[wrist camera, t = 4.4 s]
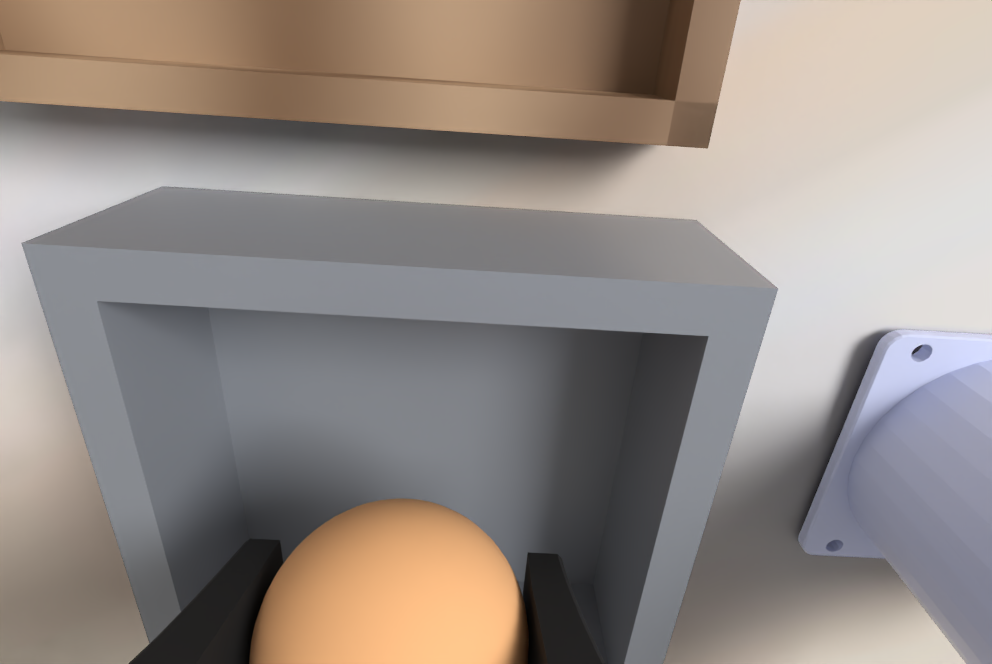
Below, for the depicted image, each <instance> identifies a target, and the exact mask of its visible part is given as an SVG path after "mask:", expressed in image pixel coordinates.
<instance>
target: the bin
mask: <svg viewBox="0 0 992 664" xmlns="http://www.w3.org/2000/svg"><path fill="white" fill-rule="evenodd" d="M22 246H23V249H24V252H25V256H26V259H27V262H28V265H29V268H30V271H31V274H32V277H33V281H34V284H35V287H36V290H37V293H38V296H39V299H40V302H41V306H42V309H43V312H44V315H45V318H46V321H47V324H48V327H49V331H50V334H51V337H52V340H53V343H54V346H55V349H56V352H57V356H58V359H59V362H60V365H61V368H62V371H63V374H64V377H65V381H66V384H67V387H68V390H69V393H70V396H71V399H72V402H73V406H74V409H75V412H76V415H77V418H78V421H79V424H80V427H81V431H82V434H83V437H84V440H85V443H86V446H87V449H88V452H89V456H90V459H91V462H92V465H93V468H94V471H95V474H96V477H97V481H98V484H99V487H100V490H101V493H102V496H103V499H104V503H105V506H106V509H107V512H108V515H109V518H110V521H111V524H112V528H113V531H114V534H115V537H116V540H117V543H118V546H119V549H120V553H121V556H122V559H123V562H124V565H125V568H126V571H127V574H128V578H129V581H130V584H131V587H132V590H133V593H134V596H135V599H136V603H137V606H138V609H139V612H140V615H141V618H142V621H143V624H144V628H145V631H146V634H147V637H148V640H149V643H151V642H152V641H153V640H154V639H155V638H156V637H157V636H158V635H159V634H160V633H161V632H162V631H163V630H164V629H165V628H166V627H167V626H168V625H169V624H170V623H171V622H172V621H173V620H174V619H175V617H176V616H177V615H178V614H179V613H180V612H181V611H182V610H183V609H184V608H185V607H186V606H187V605H188V604H189V603H190V602H191V601H192V600H193V599H194V598H195V597H196V596H197V595H198V594H199V592H200V591H201V590H202V589H203V588H204V587H205V586H206V585H207V584H208V583H209V582H210V581H211V580H212V578H213V577H214V576H215V575H216V574H217V573H218V572H219V571H220V570H221V569H222V567H223V566H224V565H225V564H226V563H227V562H228V561H229V560H230V559H231V557H232V556H233V555H234V554H235V553H236V552H237V551H238V550H239V549H240V547H241V546H242V545H243V544H244V543H245V542H246V541H247V540H249V539H269V540H280V544H281V550H282V557H283V563H284V562H285V561H286V559H287V558H288V557H289V556H290V554H291V553H292V552H293V551H294V550H295V548H296V547H297V546H298V545H299V544H300V543H301V542H302V541H303V540H304V539H305V538H306V537H307V536H309V535H310V534H311V533H312V532H313V531H314V530H316V529H317V528H318V527H320V526H321V525H323V524H324V523H325V522H327V521H329V520H330V519H332V518H333V517H335V516H337V515H339V514H341V513H343V512H345V511H347V510H350V509H352V508H354V507H356V506H359V505H362V504H366V503H369V502H374V501H379V500H386V499H397V498H402V499H418V500H424V501H429V502H433V503H436V504H439V505H442V506H444V507H447V508H449V509H451V510H454V511H456V512H458V513H459V514H461V515H463V516H465V517H466V518H468V519H469V520H471V521H472V522H473V523H475V524H476V525H477V526H478V527H480V528H481V529H482V530H483V531H484V532H485V533H486V534H487V535H488V536H489V537H490V538H491V539H492V540H493V541H494V542H495V544H496V545H497V546H498V548H499V549H500V550H501V552H502V553H503V555H504V556H505V557H506V559H507V561H508V563H509V564H510V566H511V568H512V570H513V572H514V574H515V577H516V579H517V581H518V584H519V587H520V589H521V593H522V595H523V587H524V579H525V571H526V563H527V554H528V552H529V553H549V554H558V555H559V556H560V557H561V558H562V560H563V564H564V567H565V570H566V573H567V576H568V579H569V582H570V585H571V587H572V590H573V592H574V595H575V598H576V600H577V602H578V605H579V607H580V610H581V612H582V614H583V617H584V619H585V621H586V624H587V626H588V628H589V630H590V633H591V635H592V637H593V639H594V641H595V643H596V645H597V647H598V649H599V651H600V653H601V656H602V658H603V660H604V662H605V664H663V663H664V659H665V656H666V653H667V649H668V646H669V643H670V640H671V636H672V633H673V630H674V627H675V623H676V620H677V617H678V614H679V610H680V607H681V604H682V601H683V597H684V594H685V591H686V587H687V584H688V581H689V578H690V574H691V571H692V568H693V565H694V561H695V558H696V555H697V552H698V548H699V545H700V542H701V539H702V535H703V532H704V529H705V526H706V522H707V519H708V516H709V512H710V509H711V506H712V503H713V499H714V496H715V493H716V490H717V486H718V483H719V480H720V477H721V473H722V470H723V467H724V464H725V460H726V457H727V454H728V451H729V447H730V444H731V441H732V437H733V434H734V431H735V428H736V424H737V421H738V418H739V415H740V411H741V408H742V405H743V402H744V398H745V395H746V392H747V389H748V385H749V382H750V379H751V375H752V372H753V369H754V366H755V362H756V359H757V356H758V353H759V349H760V346H761V343H762V340H763V336H764V333H765V330H766V327H767V323H768V320H769V317H770V314H771V310H772V307H773V304H774V300H775V297H776V294H777V291H778V288H777V287H776V286H774V285H773V284H772V283H771V282H770V281H768V280H767V279H766V278H765V277H764V276H762V275H761V274H760V273H759V272H758V271H756V270H755V269H754V268H753V267H752V266H751V265H749V264H748V263H747V262H746V261H745V260H743V259H742V258H741V257H740V256H739V255H737V254H736V253H735V252H734V251H733V250H731V249H730V248H729V247H728V246H727V245H725V244H724V243H723V242H722V241H721V240H720V239H718V238H717V237H716V236H715V235H714V234H712V233H711V232H710V231H709V230H708V229H706V228H705V227H704V226H703V225H702V224H700V223H699V222H698V221H697V220H684V219H669V218H653V217H637V216H621V215H605V214H589V213H574V212H558V211H542V210H526V209H510V208H494V207H479V206H463V205H447V204H431V203H415V202H400V201H384V200H368V199H352V198H336V197H320V196H305V195H289V194H273V193H257V192H241V191H225V190H210V189H194V188H178V187H160V188H157V189H155V190H152V191H150V192H147V193H145V194H143V195H140V196H138V197H135V198H133V199H130V200H128V201H125V202H123V203H120V204H118V205H115V206H113V207H110V208H108V209H105V210H103V211H100V212H98V213H95V214H93V215H90V216H88V217H85V218H83V219H81V220H78V221H76V222H73V223H71V224H68V225H66V226H63V227H61V228H58V229H56V230H53V231H51V232H48V233H46V234H43V235H41V236H38V237H36V238H33V239H31V240H28V241H26V242H23V243H22Z"/></svg>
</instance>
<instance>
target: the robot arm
mask: <svg viewBox="0 0 992 664" xmlns="http://www.w3.org/2000/svg"><path fill="white" fill-rule="evenodd" d="M920 345H922V347H921V348H920V349H919V351H918V352H916V353H914V354H912V352H913V350H914V349H915V348H916V347H918V346H920ZM798 541H799V543H800V545H801V547H802V548H803V550H804V551H805V552H806V553H807V554H811V555H821V556H843V557H864V558H885V559H886V560H887V561H888V563H889V564H890V565H891V566H892V568H893V569H894V570H895V572H896V573H897V574H898V576H899V577H900V578H901V579H902V581H903V582H904V583H905V585H906V586H907V587H908V589H909V590H910V591H911V592H912V594H913V595H914V596H915V598H916V599H917V600H918V602H919V603H920V604H921V605H922V607H923V608H924V609H925V611H926V612H927V613H928V615H929V616H930V617H931V618H932V620H933V621H934V622H935V624H936V625H937V626H938V628H939V629H940V630H941V631H942V633H943V634H944V635H945V637H946V638H947V639H948V641H949V642H950V643H951V644H952V646H953V647H954V648H955V650H956V651H957V652H958V654H959V655H960V656H961V657H962V659H963V660H964V661H965V663H966V664H992V335H991V334H974V333H956V332H939V331H922V330H905V329H901V330H894V331H892V332H889V333H887V334H886V335H885V336H883V337H882V338H881V339H880V341H879V342H878V344H877V346H876V348H875V351H874V353H873V355H872V358H871V360H870V363H869V365H868V368H867V370H866V373H865V375H864V377H863V380H862V382H861V385H860V387H859V390H858V392H857V394H856V397H855V399H854V402H853V404H852V407H851V409H850V412H849V414H848V416H847V419H846V421H845V424H844V426H843V429H842V431H841V434H840V436H839V438H838V441H837V443H836V446H835V448H834V451H833V453H832V456H831V458H830V460H829V463H828V465H827V468H826V470H825V473H824V475H823V478H822V480H821V482H820V485H819V487H818V490H817V492H816V495H815V497H814V500H813V502H812V504H811V507H810V509H809V512H808V514H807V517H806V519H805V522H804V524H803V526H802V529H801V531H800V534H799V537H798ZM282 565H283V557H282V550H281V544H280V540H269V539H249V540H247V541H246V542H245V543H244V544H243V545H242V546H241V547H240V549H239V550H238V551H237V552H236V553H235V554H234V555H233V556H232V557H231V559H230V560H229V561H228V562H227V563H226V564H225V565H224V566H223V567H222V569H221V570H220V571H219V572H218V573H217V574H216V575H215V576H214V577H213V578H212V580H211V581H210V582H209V583H208V584H207V585H206V586H205V587H204V588H203V589H202V590H201V591H200V592H199V594H198V595H197V596H196V597H195V598H194V599H193V600H192V601H191V602H190V603H189V604H188V605H187V606H186V607H185V608H184V609H183V610H182V611H181V612H180V613H179V614H178V615H177V616H176V617H175V619H174V620H173V621H172V622H171V623H170V624H169V625H168V626H167V627H166V628H165V629H164V630H163V631H162V632H161V633H160V634H159V635H158V636H157V637H156V638H155V639H154V640H153V641H152V642H151V643H150V644H149V645H148V646H147V647H146V648H145V649H144V650H142V651H141V652H140V653H139V654H138V655H137V656H136V657H135V658H134V659H133V660H132V661H131V662H130V663H129V664H249V660H250V648H251V640H252V635H253V630H254V625H255V622H256V619H257V616H258V613H259V610H260V607H261V605H262V602H263V599H264V596H265V594H266V592H267V590H268V588H269V587H270V585H271V583H272V581H273V579H274V577H275V576H276V574H277V572H278V570H279V569H280V568H281V566H282ZM522 596H523V600H524V603H525V608H526V614H527V622H528V630H529V648H528V664H605V662H604V660H603V658H602V656H601V653H600V651H599V649H598V647H597V645H596V643H595V641H594V639H593V637H592V635H591V633H590V630H589V628H588V626H587V624H586V621H585V619H584V617H583V614H582V612H581V610H580V607H579V605H578V602H577V600H576V598H575V595H574V592H573V590H572V587H571V585H570V582H569V579H568V576H567V573H566V570H565V567H564V564H563V560H562V558H561V557H560V556H559V555H558V554H549V553H529V552H528V554H527V563H526V571H525V579H524V587H523V595H522Z"/></svg>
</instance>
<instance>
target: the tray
mask: <svg viewBox="0 0 992 664" xmlns="http://www.w3.org/2000/svg"><path fill="white" fill-rule="evenodd" d="M740 1H741V0H0V101H7V102H22V103H37V104H52V105H67V106H82V107H97V108H112V109H127V110H142V111H157V112H172V113H187V114H202V115H217V116H232V117H247V118H262V119H277V120H292V121H307V122H321V123H336V124H351V125H366V126H381V127H396V128H411V129H426V130H441V131H456V132H471V133H486V134H501V135H516V136H531V137H546V138H561V139H576V140H591V141H606V142H621V143H636V144H650V145H665V146H680V147H695V148H708V145H709V141H710V136H711V132H712V127H713V123H714V118H715V114H716V109H717V105H718V100H719V96H720V91H721V87H722V82H723V78H724V73H725V68H726V64H727V59H728V55H729V50H730V46H731V41H732V37H733V32H734V28H735V23H736V19H737V14H738V10H739V5H740Z"/></svg>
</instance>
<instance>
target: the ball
mask: <svg viewBox="0 0 992 664" xmlns="http://www.w3.org/2000/svg"><path fill="white" fill-rule="evenodd" d="M528 648H529V630H528V622H527V614H526V608H525V603H524V600H523V596H522V593H521V589H520V587H519V584H518V581H517V579H516V577H515V574H514V572H513V570H512V568H511V566H510V564H509V563H508V561H507V559H506V557H505V556H504V555H503V553H502V552H501V550H500V549H499V548H498V546H497V545H496V544H495V542H494V541H493V540H492V539H491V538H490V537H489V536H488V535H487V534H486V533H485V532H484V531H483V530H482V529H481V528H480V527H478V526H477V525H476V524H475V523H473V522H472V521H471V520H469V519H468V518H466V517H465V516H463V515H461V514H459V513H458V512H456V511H454V510H451V509H449V508H447V507H444V506H442V505H439V504H436V503H433V502H429V501H424V500H418V499H402V498H397V499H386V500H379V501H374V502H369V503H366V504H362V505H359V506H356V507H354V508H352V509H350V510H347V511H345V512H343V513H341V514H339V515H337V516H335V517H333V518H332V519H330V520H329V521H327V522H325V523H324V524H323V525H321V526H320V527H318V528H317V529H316V530H314V531H313V532H312V533H311V534H310V535H309V536H307V537H306V538H305V539H304V540H303V541H302V542H301V543H300V544H299V545H298V546H297V547H296V548H295V550H294V551H293V552H292V553H291V554H290V556H289V557H288V558H287V559H286V561H285V562H284V563H283V565H282V566H281V568H280V569H279V570H278V572H277V574H276V576H275V577H274V579H273V581H272V583H271V585H270V587H269V588H268V590H267V592H266V594H265V596H264V599H263V602H262V605H261V607H260V610H259V613H258V616H257V619H256V622H255V625H254V630H253V635H252V640H251V648H250V660H249V664H528Z"/></svg>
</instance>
